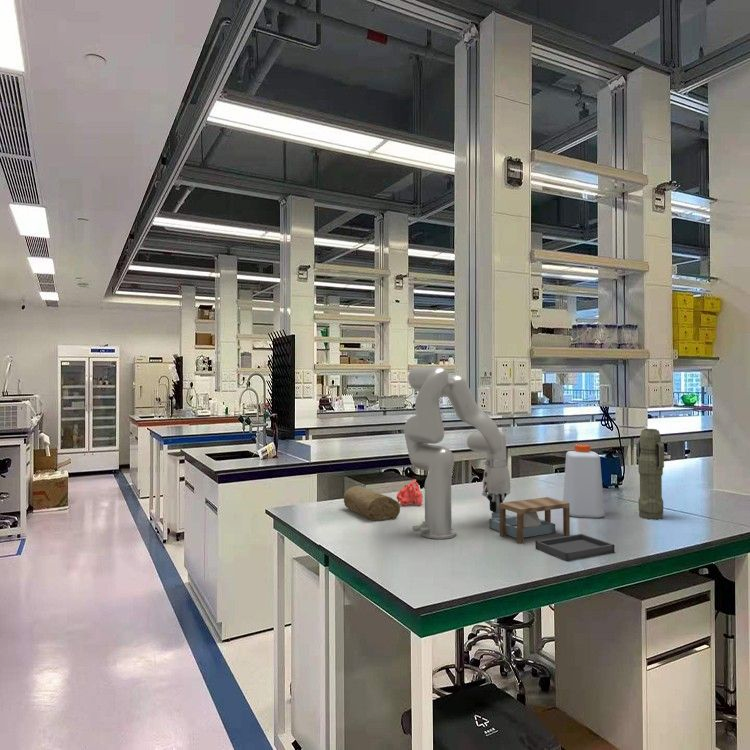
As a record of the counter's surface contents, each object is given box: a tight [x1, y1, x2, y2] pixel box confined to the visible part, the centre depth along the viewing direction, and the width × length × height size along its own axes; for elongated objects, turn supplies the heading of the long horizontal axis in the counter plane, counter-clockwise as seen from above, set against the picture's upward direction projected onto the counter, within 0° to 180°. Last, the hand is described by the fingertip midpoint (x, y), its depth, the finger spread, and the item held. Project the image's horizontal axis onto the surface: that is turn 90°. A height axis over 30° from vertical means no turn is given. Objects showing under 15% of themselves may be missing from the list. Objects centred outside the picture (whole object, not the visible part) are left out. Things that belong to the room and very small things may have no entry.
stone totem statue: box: [636, 428, 665, 521], centre depth 224 cm, size 9×12×35 cm
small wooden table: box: [499, 496, 571, 545], centre depth 199 cm, size 22×11×12 cm, turn 115°
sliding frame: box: [488, 494, 556, 539], centre depth 209 cm, size 24×17×10 cm
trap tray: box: [534, 533, 615, 562], centre depth 182 cm, size 20×14×2 cm
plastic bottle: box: [562, 444, 605, 519], centre depth 230 cm, size 15×15×28 cm
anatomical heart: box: [396, 479, 424, 507], centre depth 247 cm, size 9×12×12 cm
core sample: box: [343, 485, 401, 522], centre depth 231 cm, size 14×26×10 cm, turn 29°
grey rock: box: [516, 512, 541, 527], centre depth 202 cm, size 8×9×10 cm
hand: (496, 510), depth 219 cm, fingers closed on sliding frame, 2 cm apart
